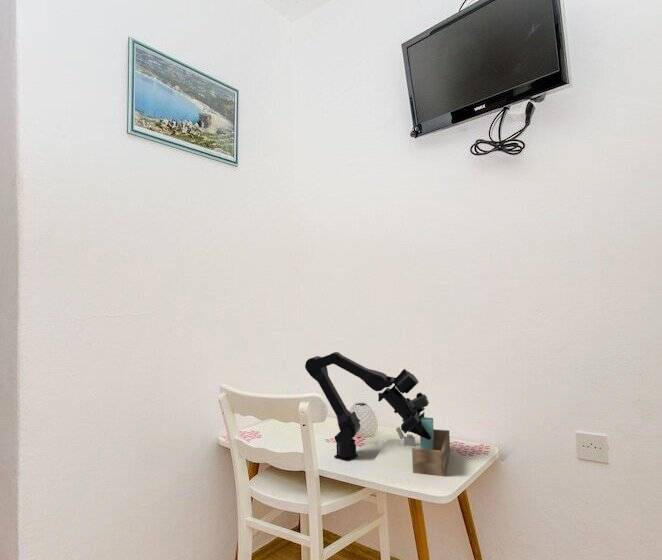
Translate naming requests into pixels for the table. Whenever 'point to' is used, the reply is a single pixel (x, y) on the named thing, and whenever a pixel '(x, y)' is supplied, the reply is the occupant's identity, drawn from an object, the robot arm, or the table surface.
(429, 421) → the pillar block
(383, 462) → the table surface
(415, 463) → the open box
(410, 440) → the lighter
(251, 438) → the table surface
